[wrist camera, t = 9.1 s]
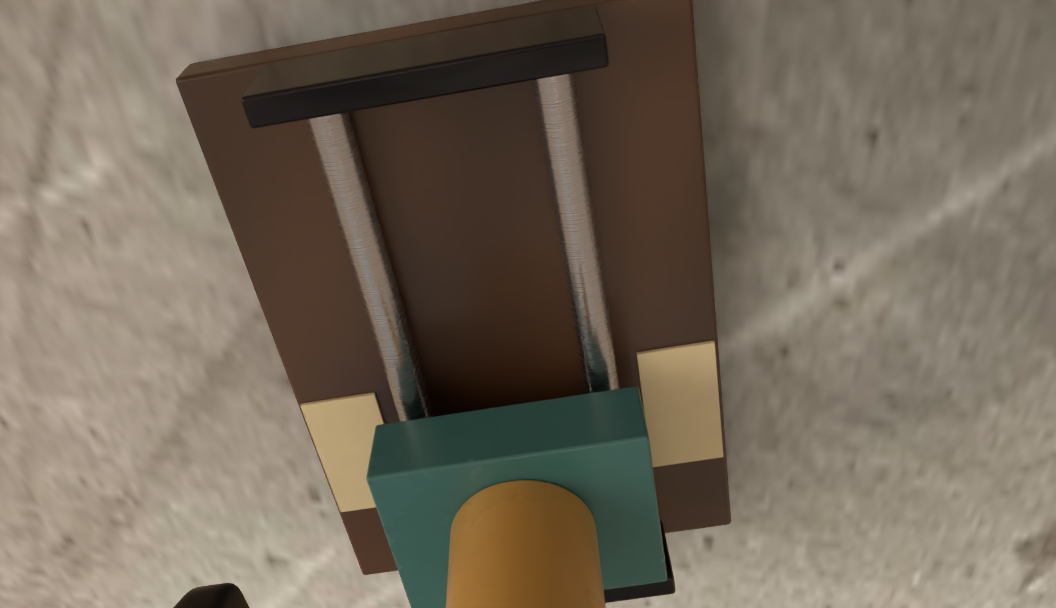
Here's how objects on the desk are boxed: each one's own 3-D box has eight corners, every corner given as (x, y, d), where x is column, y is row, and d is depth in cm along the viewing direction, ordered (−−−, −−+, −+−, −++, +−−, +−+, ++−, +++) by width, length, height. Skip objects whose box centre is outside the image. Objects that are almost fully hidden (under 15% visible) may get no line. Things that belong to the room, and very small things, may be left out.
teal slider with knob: (638, 384, 21) (697, 666, 14) (657, 525, 23) (715, 821, 17) (374, 424, 21) (321, 715, 15) (419, 558, 23) (389, 859, 17)
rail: (683, -26, 18) (713, 14, 15) (724, 498, 25) (749, 584, 23) (187, 63, 19) (138, 115, 16) (366, 549, 26) (352, 638, 23)
